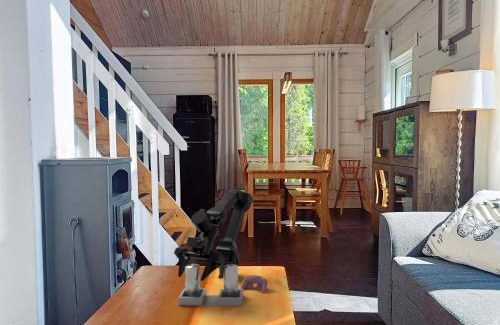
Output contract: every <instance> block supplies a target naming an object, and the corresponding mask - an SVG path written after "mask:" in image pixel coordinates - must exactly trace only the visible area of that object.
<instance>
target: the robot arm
mask: <svg viewBox="0 0 500 325" xmlns="http://www.w3.org/2000/svg"><path fill="white" fill-rule="evenodd" d="M253 202H254V197H253V195H252V194H251V193H249V192H248V193H247V192H244V191H242V190H240V189H230V190H228V193H227V195H225V197H223V199H222V200H221V201H220V202H219V204H217V205H216V206H213V207H211V208H209V209H208V210H206V209H204V208H200V209H199V210H198V211H196V212H195V213H194V214H193V215H191V217H190V218H191V219H190V220H191V223H192V225H193V226H194V227H195V228H196V230H197V231H198V232H199V233H200V234H199V236H196V237H191V236H188V237H187V238H186V243H185V247H180V246H178V247H175V249H174V251H173V254H174V255H175V256H176V258H177V259H178V271H177V272H178V274H177V276H178V277H179V278H181V277H182V276H183V274H185V266H186V265H188V264H190V262H189V261H190V260H191V259H198V260H204V261H205V260H206V264H205V267H204V268H203V272H202V274H201V275H200V282H203V281H204V280H206V278H208V277H209V276H210V275H211V274H212V273H213V272H214V271H215V270H217V269H218V273H219V274H218V277H217V278H219V279H222V280H223V266H224V265H227V264H235V265H237V266H238V265H240V262H241V256H240V255H239V253H238V248H237V247H238V246H237V243H236V242H237V239H238V236H239V233H240V230H241V229H240V228H241V225H242V223H243V219H244V216H245V214H246V212H248V211H249V210H250V208H251V207H252V205H253ZM232 208H233V211H232V215H231V218H230V221H229V223H228V227H227V230H226V234H225V236H224V238H223V239H220V240H218V242H217V246H216V247H215V251H213V249H214V243H215V240H216V237H217V236H218V237H220V234H221V233H220V230H219V228H218V227H219V226H220V227H221V226H223V225H224V224H226V221H227V220H228V216H227V215H228V214H229V212H230V211H231V209H232ZM217 226H218V227H217ZM186 247H190V248H189V249H190V250H191V251H192V252H191V251H189V250H188V249H187V248H186ZM211 250H212V251H211Z"/></svg>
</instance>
